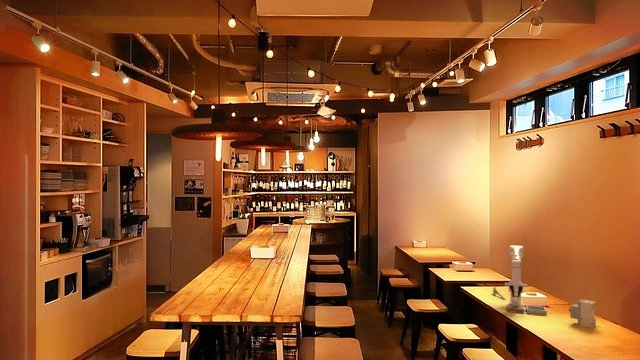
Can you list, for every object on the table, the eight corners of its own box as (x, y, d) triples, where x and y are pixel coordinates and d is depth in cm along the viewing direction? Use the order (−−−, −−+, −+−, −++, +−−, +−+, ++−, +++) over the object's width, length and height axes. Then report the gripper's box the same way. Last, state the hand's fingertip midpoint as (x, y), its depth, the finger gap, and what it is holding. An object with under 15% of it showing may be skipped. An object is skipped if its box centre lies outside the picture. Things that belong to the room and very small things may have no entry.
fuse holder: (507, 307, 341) (507, 304, 341) (522, 309, 338) (522, 305, 338) (508, 311, 330) (508, 308, 330) (524, 313, 327) (524, 309, 327)
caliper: (492, 294, 385) (493, 286, 385) (494, 294, 385) (494, 286, 385) (504, 300, 364) (504, 292, 364) (506, 300, 364) (506, 292, 365)
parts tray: (525, 309, 337) (525, 305, 337) (544, 311, 334) (544, 306, 334) (527, 313, 326) (527, 309, 326) (546, 315, 322) (546, 310, 322)
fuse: (513, 301, 336) (513, 289, 336) (518, 301, 335) (518, 290, 335) (513, 302, 333) (513, 290, 333) (518, 302, 332) (518, 291, 332)
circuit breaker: (571, 320, 310) (571, 297, 310) (595, 325, 300) (596, 301, 300) (567, 323, 305) (567, 299, 305) (592, 328, 295) (592, 303, 295)
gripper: (505, 277, 333) (505, 297, 332) (528, 279, 328) (527, 299, 328) (504, 275, 339) (504, 294, 339) (527, 277, 335) (526, 296, 335)
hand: (515, 296), depth 334 cm, fingers closed on fuse, 3 cm apart
